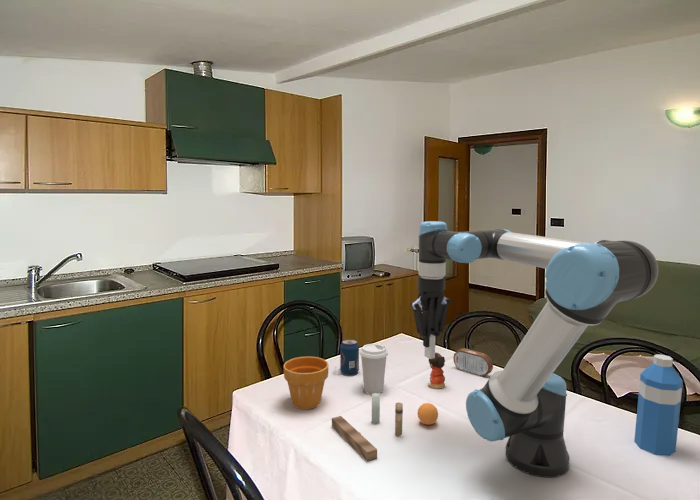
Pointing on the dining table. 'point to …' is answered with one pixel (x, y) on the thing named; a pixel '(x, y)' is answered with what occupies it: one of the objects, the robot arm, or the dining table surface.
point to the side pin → (375, 408)
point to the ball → (427, 413)
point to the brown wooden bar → (354, 438)
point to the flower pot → (306, 380)
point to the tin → (473, 362)
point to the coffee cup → (373, 367)
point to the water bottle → (658, 407)
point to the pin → (398, 419)
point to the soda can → (349, 357)
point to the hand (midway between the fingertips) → (429, 356)
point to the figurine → (437, 372)
